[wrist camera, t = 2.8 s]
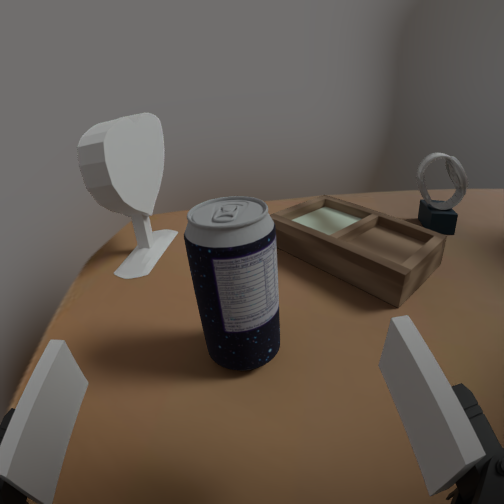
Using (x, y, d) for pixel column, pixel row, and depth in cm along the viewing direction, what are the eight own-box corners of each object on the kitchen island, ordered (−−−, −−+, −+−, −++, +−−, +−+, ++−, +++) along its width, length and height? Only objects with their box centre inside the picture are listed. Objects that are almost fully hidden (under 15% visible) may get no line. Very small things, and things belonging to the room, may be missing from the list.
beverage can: (282, 328, 27) (276, 192, 21) (278, 379, 22) (271, 228, 16) (217, 327, 28) (195, 196, 22) (202, 375, 23) (167, 230, 17)
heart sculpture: (153, 227, 49) (133, 114, 40) (182, 226, 48) (164, 108, 40) (106, 282, 35) (67, 132, 27) (141, 284, 35) (105, 123, 26)
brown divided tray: (324, 218, 47) (324, 194, 45) (440, 264, 33) (446, 236, 31) (268, 242, 41) (266, 216, 39) (398, 308, 28) (405, 275, 26)
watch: (464, 235, 39) (476, 162, 34) (417, 233, 40) (426, 156, 35) (451, 219, 44) (460, 152, 39) (407, 217, 45) (413, 148, 40)
